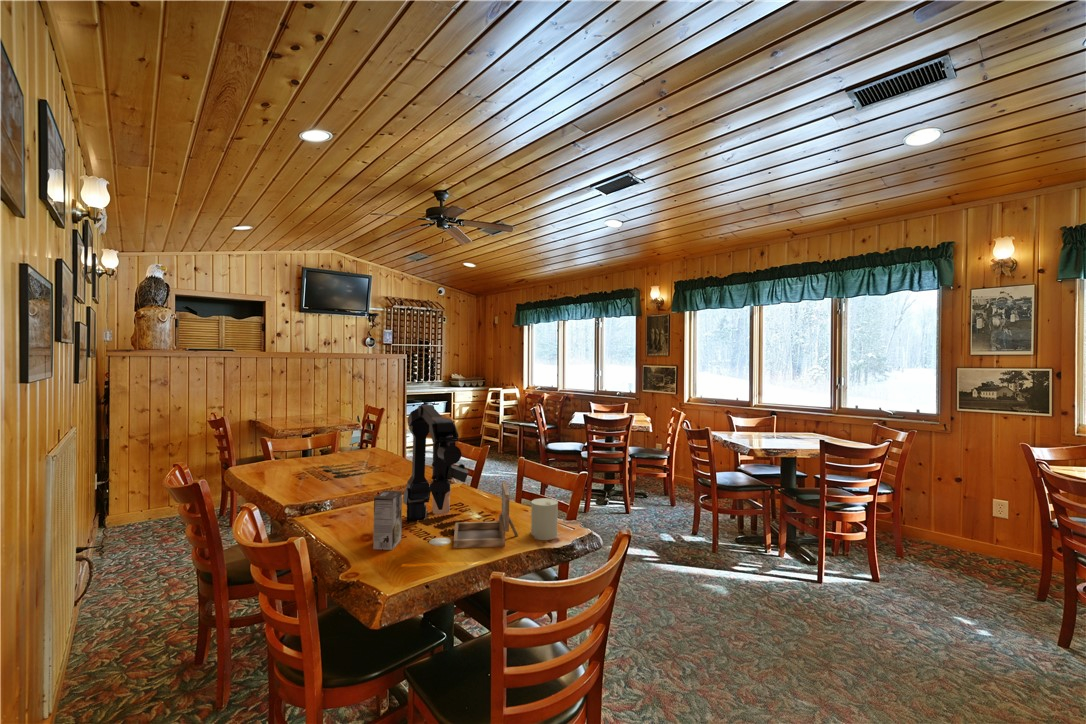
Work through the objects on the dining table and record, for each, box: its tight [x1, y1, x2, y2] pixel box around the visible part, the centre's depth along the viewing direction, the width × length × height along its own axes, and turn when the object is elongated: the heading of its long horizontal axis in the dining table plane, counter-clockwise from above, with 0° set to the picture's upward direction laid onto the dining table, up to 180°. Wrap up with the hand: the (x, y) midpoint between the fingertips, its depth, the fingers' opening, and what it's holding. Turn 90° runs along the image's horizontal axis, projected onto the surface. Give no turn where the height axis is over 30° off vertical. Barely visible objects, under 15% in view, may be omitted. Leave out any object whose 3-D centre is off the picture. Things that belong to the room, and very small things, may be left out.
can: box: [530, 497, 559, 541], centre depth 175 cm, size 9×9×12 cm
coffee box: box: [372, 490, 403, 551], centre depth 164 cm, size 9×6×16 cm
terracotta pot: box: [432, 488, 452, 515], centre depth 165 cm, size 6×6×7 cm
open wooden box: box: [453, 480, 519, 549], centre depth 170 cm, size 21×19×17 cm
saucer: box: [428, 537, 452, 547], centre depth 165 cm, size 7×7×1 cm
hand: (441, 507), depth 165 cm, fingers closed on terracotta pot, 5 cm apart
